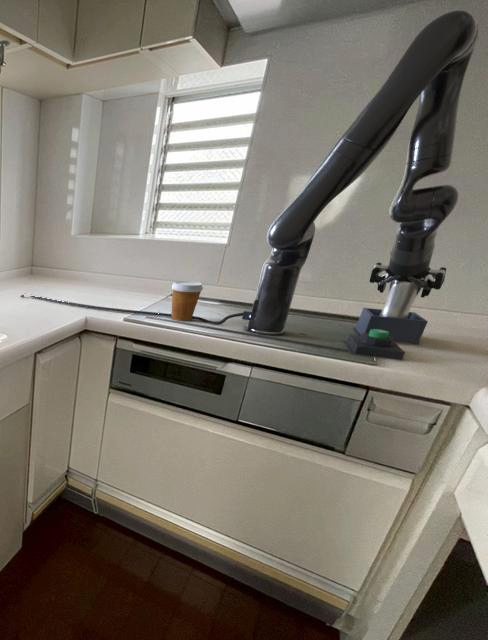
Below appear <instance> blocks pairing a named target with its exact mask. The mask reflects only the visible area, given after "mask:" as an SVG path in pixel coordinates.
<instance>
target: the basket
mask: <svg viewBox="0 0 488 640" xmlns="http://www.w3.org/2000/svg"><path fill="white" fill-rule="evenodd" d="M382 309H383V308H370V307H362V310H361V313H360V315H359V318H358V320H357V324H356V325H355V326H356V327H355V330H356V331H357V333H359V335H361V333H370V330H371V329H379V330H384V331H388V332H389V334H388V336H391V337H394V338H395V341H394V342H395V343H396V342H397V343H405V344H413V345H414V344H415V345H419V344H420V341H421V338H422V337H423V334H424V332H425V329H426V328H427V324H428V322H429V321H428V320H427V319H425V318H424V317H422V316H421V315H419V314H418V313H416V312H415V311H414V312H412V311H409V314H408V318H407V319H404V318H394V317H384V316H379V315H380V313H381V311H382Z"/></svg>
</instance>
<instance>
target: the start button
mask: <svg viewBox="0 0 488 640" xmlns="http://www.w3.org/2000/svg"><path fill="white" fill-rule="evenodd" d="M388 334H389V332H388V331H384V330H379V329H371V330H370V333H369V335H368V336H370V337H374V338H381V339H387V337H388Z"/></svg>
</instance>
